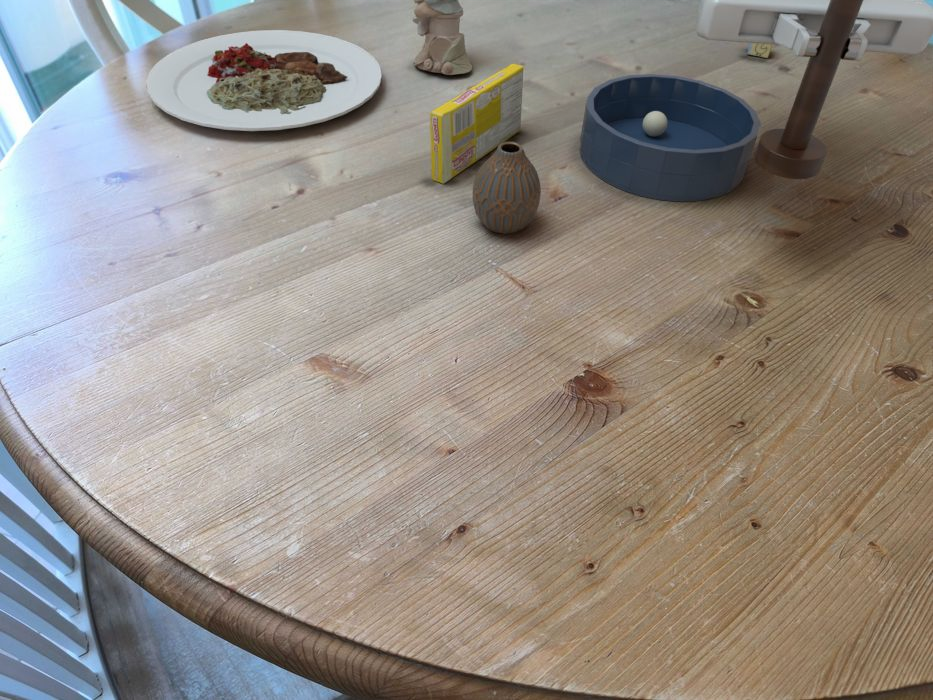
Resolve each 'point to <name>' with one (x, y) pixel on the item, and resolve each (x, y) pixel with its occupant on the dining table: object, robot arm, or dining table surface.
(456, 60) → the figurine
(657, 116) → the dough ball
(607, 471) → the dining table surface
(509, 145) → the vase
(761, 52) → the alphabet block
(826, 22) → the wooden joystick
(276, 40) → the plated food
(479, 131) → the candy box
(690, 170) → the bowl
